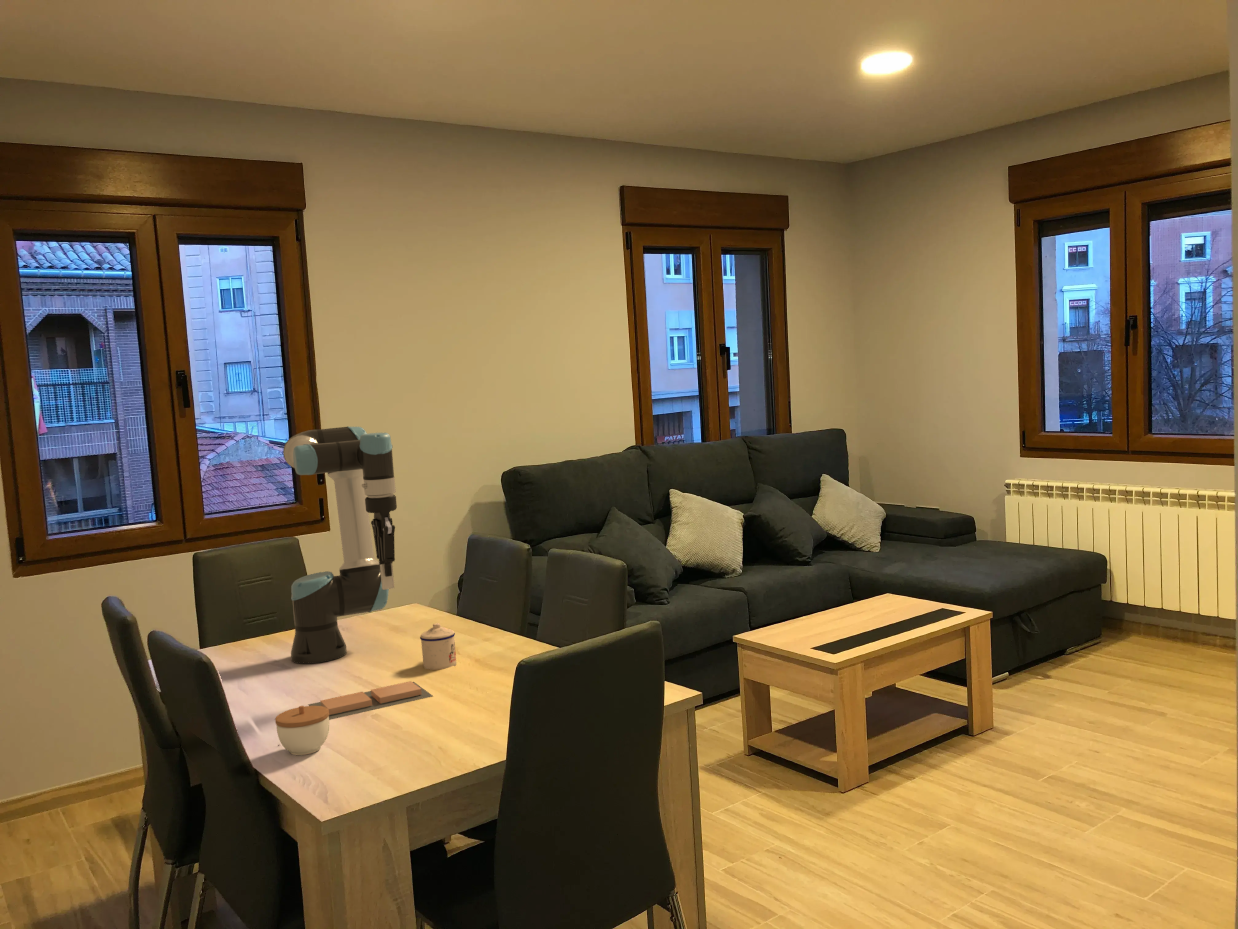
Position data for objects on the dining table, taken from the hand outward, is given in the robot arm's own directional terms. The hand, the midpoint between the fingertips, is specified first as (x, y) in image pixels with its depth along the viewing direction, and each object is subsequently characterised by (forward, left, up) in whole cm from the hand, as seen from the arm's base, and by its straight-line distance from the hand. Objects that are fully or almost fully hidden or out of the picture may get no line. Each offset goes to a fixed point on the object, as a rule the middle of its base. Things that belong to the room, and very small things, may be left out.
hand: (388, 588), depth 250 cm
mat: (+11, -10, -24) cm, 29 cm away
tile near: (+8, -16, -23) cm, 29 cm away
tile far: (+8, -4, -23) cm, 25 cm away
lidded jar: (+33, -30, -25) cm, 51 cm away
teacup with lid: (-8, +14, -25) cm, 30 cm away
